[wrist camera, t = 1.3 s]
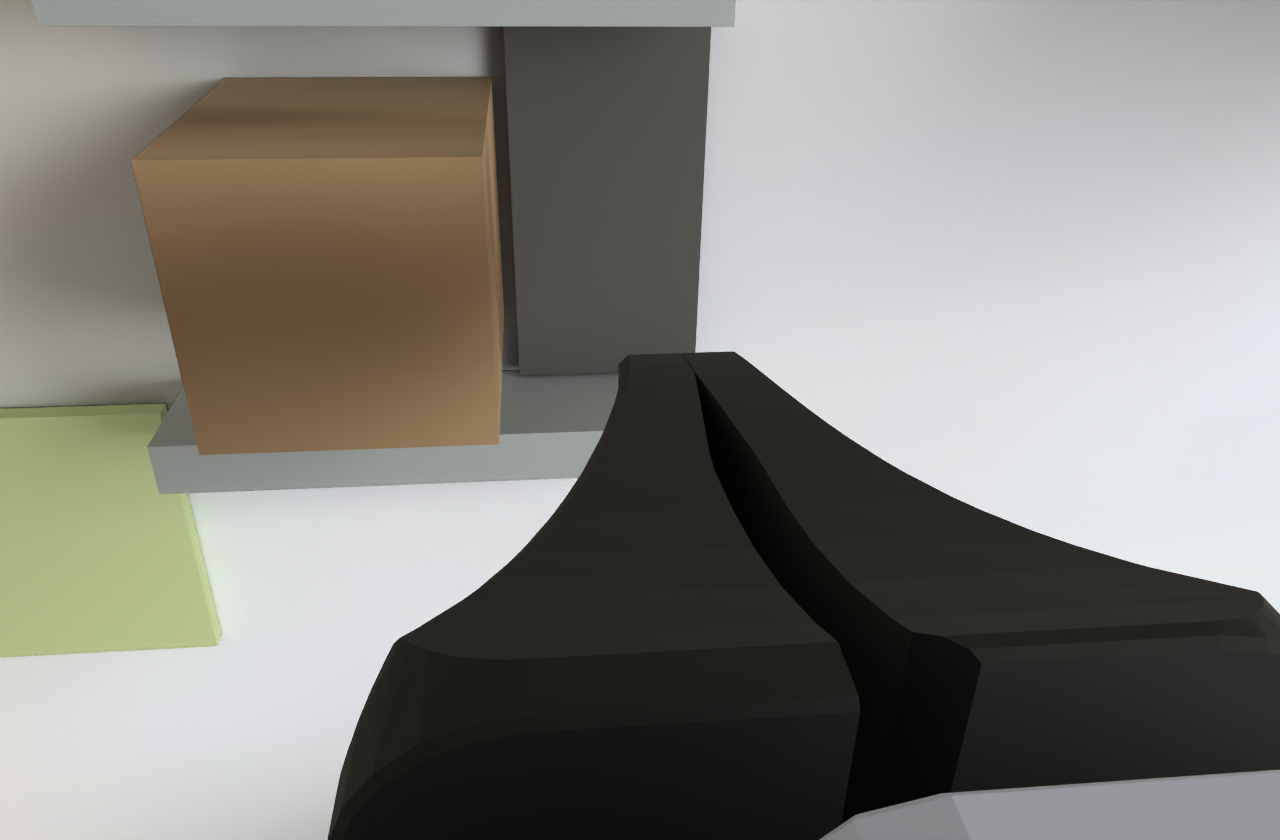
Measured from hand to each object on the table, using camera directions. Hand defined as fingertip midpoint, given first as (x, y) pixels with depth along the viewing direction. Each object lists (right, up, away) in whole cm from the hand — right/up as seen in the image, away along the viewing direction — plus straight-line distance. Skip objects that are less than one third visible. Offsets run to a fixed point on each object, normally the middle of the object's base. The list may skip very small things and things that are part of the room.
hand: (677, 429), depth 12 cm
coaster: (-13, -2, +10) cm, 16 cm away
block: (-5, +4, +7) cm, 10 cm away
